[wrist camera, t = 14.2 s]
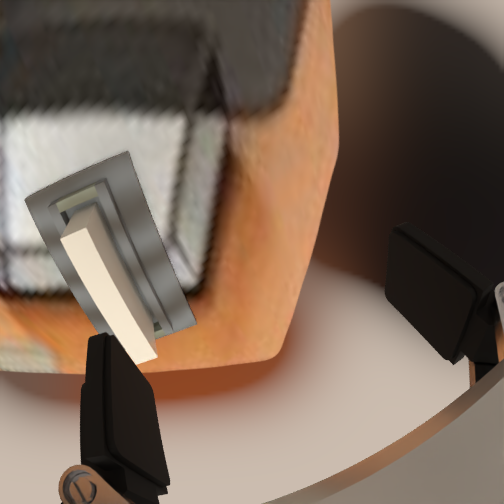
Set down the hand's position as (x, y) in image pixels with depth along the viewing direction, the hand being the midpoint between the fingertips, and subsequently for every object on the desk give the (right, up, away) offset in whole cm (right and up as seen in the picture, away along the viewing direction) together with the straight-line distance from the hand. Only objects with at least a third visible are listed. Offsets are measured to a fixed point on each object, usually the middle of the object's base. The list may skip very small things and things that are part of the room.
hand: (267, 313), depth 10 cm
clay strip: (-18, 0, +28) cm, 33 cm away
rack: (-18, 0, +29) cm, 34 cm away
